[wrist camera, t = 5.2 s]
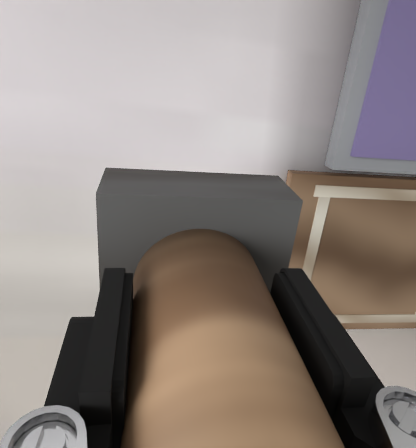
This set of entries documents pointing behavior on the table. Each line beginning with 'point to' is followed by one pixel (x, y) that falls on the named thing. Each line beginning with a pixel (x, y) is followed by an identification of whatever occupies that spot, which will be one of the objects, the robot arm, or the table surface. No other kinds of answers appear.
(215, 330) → the stamp
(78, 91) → the table surface
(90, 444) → the robot arm
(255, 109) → the table surface
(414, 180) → the marked board
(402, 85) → the ink pad
